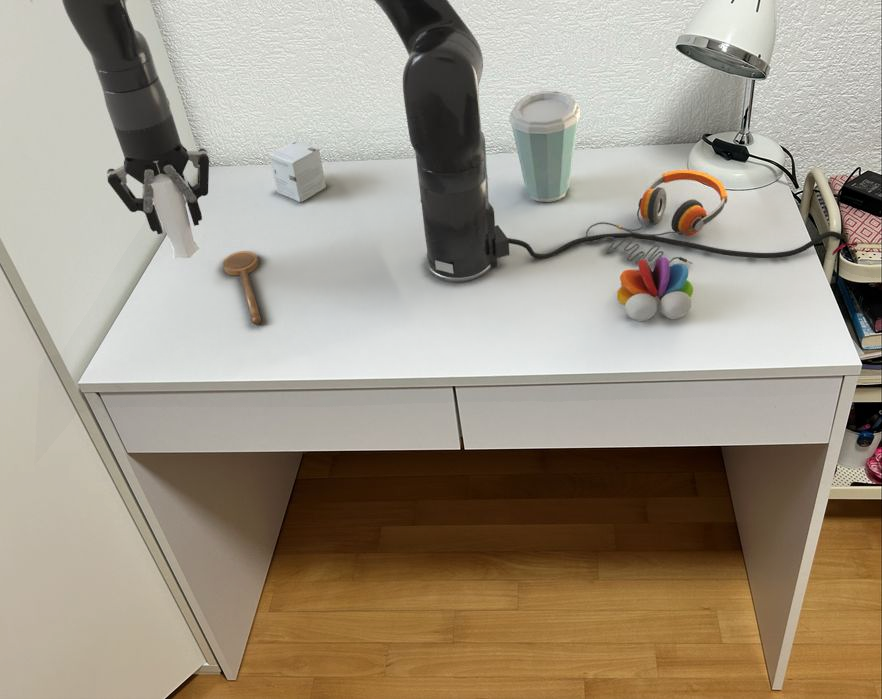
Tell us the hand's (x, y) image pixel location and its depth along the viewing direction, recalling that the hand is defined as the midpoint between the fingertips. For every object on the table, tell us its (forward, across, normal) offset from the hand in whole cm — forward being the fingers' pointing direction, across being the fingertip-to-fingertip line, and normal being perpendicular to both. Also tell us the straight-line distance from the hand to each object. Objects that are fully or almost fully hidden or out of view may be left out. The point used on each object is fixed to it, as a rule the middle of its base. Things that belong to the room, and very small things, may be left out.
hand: (178, 226), depth 123 cm
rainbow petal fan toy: (+9, +57, -34) cm, 67 cm away
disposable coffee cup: (+9, +56, -1) cm, 57 cm away
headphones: (+9, +67, -19) cm, 70 cm away
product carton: (+9, +20, +18) cm, 28 cm away
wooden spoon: (+9, +7, -7) cm, 13 cm away
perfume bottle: (+4, 0, 0) cm, 4 cm away
